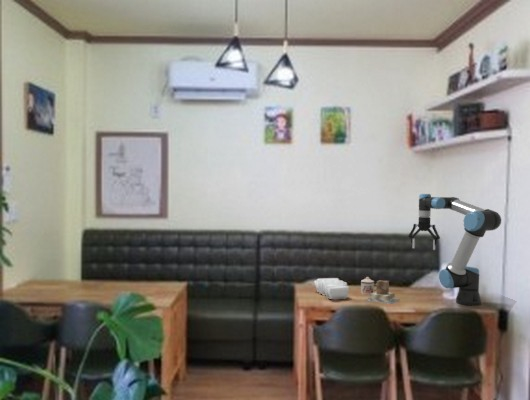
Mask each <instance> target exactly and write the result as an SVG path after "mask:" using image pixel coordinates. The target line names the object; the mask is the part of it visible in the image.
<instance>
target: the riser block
mask: <svg viewBox="0 0 530 400" xmlns="http://www.w3.org/2000/svg"><path fill="white" fill-rule="evenodd" d="M395 297H396V296H395V292H389V293H388V294H386V295H382V294H376V291H374V293H372V294H370V295H369V298H370V300H371V301H370V302H373V301H379V302H378V303H381V302H387V303H386V304H389V302H391V301H392V300H394V299H396V298H395Z"/></svg>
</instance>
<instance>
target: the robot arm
mask: <svg viewBox="0 0 530 400" xmlns="http://www.w3.org/2000/svg"><path fill="white" fill-rule="evenodd" d="M432 209H434V210H441V209H443V210H444V209H445V210H452V211H454V212H456V213H459V214H462V215H464V217H463V227H464V231H465V232H464V234H463V237H461V241H460V243H459V245H458V248H457V250H456V252H455V254H454V256H453V258H452V261H451V262H449V263H448V264H447V265H446V267H445V268H444V269H441V270H440V271H439V274H438V279H439V283H440V285H441V286H442V287H443V288H445V289H457V288H458V292H457V294H456V298H455V303H456V304H459V305H464V306H481V305H482V298H481V295H480V292H479V291H480V270H479V268H477V267H474V266H468V263H469V261H470V258H471V257H472V255H473V254H474V253H473V252H474V251H475V249H476V246H477V245H478V242H479V240H480V239H481V238H483V237H484V236H485V234H486V232H487V231H495V230H497V229H498V228H499V227H500V226H501V224H502V217H501V215H500V214H499V212H497V211H495V210H492V209H488V208H487V209H484V208H482V207H479V206H476V205H474V204H470V203H467V202H466V201H462V200H461V199H459V198H458V197H456V196H455V197H454V196H450V197H447V196H446V197H445V196H432V194H430V193H420V194H419V195H418V223H413V227H412V229H411V231H410V232H409V234H408V236H407V237H408V238H409V239H411V240H410V243H411V244H412V249H415V248H416V239H415V237H416V236H417V235H418V234H419V233H420V232H428V234H430V236H431V237H432V240H433V242H432V246H433V247H432V250H433V251H435V250H436V245H437V244H438V240H440V239H441V236H440V234H439V232H438V231H437V228H436V224H431V210H432ZM417 227H418V228H417ZM416 228H417V230H416ZM431 228H432V230H433V231H432V230H431ZM415 230H416V231H415ZM433 232H434V233H433Z"/></svg>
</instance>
